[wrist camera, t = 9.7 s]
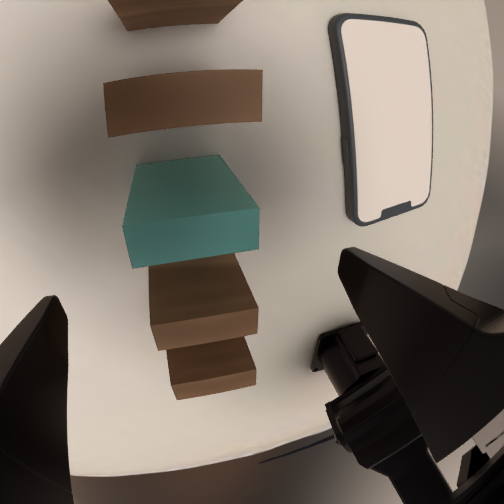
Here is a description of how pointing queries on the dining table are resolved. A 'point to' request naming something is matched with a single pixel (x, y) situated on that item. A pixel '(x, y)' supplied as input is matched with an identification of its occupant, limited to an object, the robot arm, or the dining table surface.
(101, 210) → the dining table surface
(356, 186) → the smartphone with white screen
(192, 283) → the domino
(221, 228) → the domino
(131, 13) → the domino
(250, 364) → the brown wooden block
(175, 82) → the domino
